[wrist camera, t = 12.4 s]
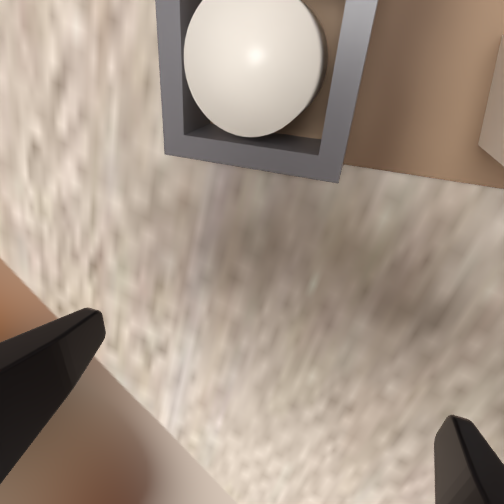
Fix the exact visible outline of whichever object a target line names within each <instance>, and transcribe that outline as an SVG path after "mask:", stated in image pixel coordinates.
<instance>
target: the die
mask: <svg viewBox="0 0 504 504" xmlns="http://www.w3.org/2000/svg"><path fill="white" fill-rule="evenodd" d="M478 145H479V146H480V147H481V148H482V149H484V150H485V151H486V152H487V153H488V154H489V155H491V156H492V157H493V158H494V159H495V160H497V161H498V162H499V163H500V164H501V165H503V166H504V35H502V38H501V43H500V47H499V52H498V56H497V61H496V65H495V70H494V75H493V79H492V84H491V88H490V93H489V97H488V102H487V107H486V111H485V116H484V120H483V125H482V129H481V134H480V139H479V143H478Z"/></svg>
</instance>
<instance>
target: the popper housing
mask: <svg viewBox="0 0 504 504" xmlns="http://www.w3.org/2000/svg"><path fill="white" fill-rule="evenodd" d="M202 1H203V0H155V2H156V19H157V35H158V52H159V68H160V85H161V101H162V118H163V134H164V151H165V154H166V155H172V156H178V157H184V158H190V159H196V160H202V161H208V162H214V163H220V164H226V165H232V166H238V167H244V168H250V169H256V170H262V171H268V172H274V173H280V174H286V175H292V176H298V177H304V178H310V179H316V180H322V181H327V182H333V183H339V179H340V175H341V170H342V166H343V162H344V157H345V153H346V148H347V144H348V139H349V134H350V130H351V125H352V121H353V116H354V111H355V107H356V102H357V97H358V93H359V88H360V84H361V79H362V74H363V70H364V65H365V60H366V56H367V51H368V47H369V42H370V37H371V33H372V28H373V23H374V19H375V14H376V10H377V5H378V0H346V3H345V8H344V14H343V20H342V25H341V31H340V37H339V43H338V48H337V54H336V60H335V65H334V71H333V77H332V82H331V88H330V94H329V99H328V105H327V111H326V116H325V122H324V128H323V133H322V139H315V138H308V137H301V136H294V135H287V134H280V133H271V134H268V135H264V136H260V137H243V136H238V135H234V134H232V133H229V132H227V131H225V130H223V129H221V128H219V127H218V126H217V125H215V124H210V120H209V119H208V118H207V117H206V115H205V114H204V113H203V112H202V111H201V109H200V108H199V106H198V105H197V103H196V102H195V100H194V98H193V96H192V94H191V91H190V89H189V86H188V82H187V79H186V74H185V68H184V45H185V38H186V34H187V30H188V27H189V24H190V21H191V19H192V17H193V15H194V13H195V11H196V9H197V8H198V6H199V5H200V3H201V2H202Z"/></svg>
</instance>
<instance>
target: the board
mask: <svg viewBox="0 0 504 504" xmlns="http://www.w3.org/2000/svg"><path fill="white" fill-rule="evenodd" d="M301 1H302V2H304V3H305V4H306V5H307V6H308V7H309V8H310V9H311V10H312V11H313V12H314V14H315V15H316V16H317V18H318V20H319V22H320V23H321V25H322V28H323V31H324V33H325V37H326V41H327V48H328V63H327V70H326V75H325V78H324V81H323V84H322V87H321V89H320V91H319V93H318V94H317V96H316V97H315V99H314V100H313V101H312V103H311V104H310V105H309V106H308V107H307V108H306V109H305V110H304V111H303V112H301V113H300V114H299V115H298V116H297V117H296V118H294V119H293V120H292V121H291V122H290V123H289V124H287V125H286V126H284V127H283V128H281V129H280V130H278V131H276V132H274V133H280V134H287V135H294V136H301V137H308V138H315V139H322V133H323V128H324V122H325V116H326V111H327V105H328V99H329V94H330V88H331V82H332V77H333V71H334V65H335V60H336V54H337V48H338V43H339V37H340V31H341V25H342V20H343V14H344V8H345V3H346V0H301ZM502 35H504V0H378V5H377V10H376V14H375V19H374V23H373V28H372V33H371V37H370V42H369V47H368V51H367V56H366V60H365V65H364V70H363V74H362V79H361V84H360V88H359V93H358V97H357V102H356V107H355V111H354V116H353V121H352V125H351V130H350V134H349V139H348V144H347V148H346V153H345V157H344V162H343V164H347V165H353V166H360V167H366V168H373V169H379V170H385V171H392V172H398V173H405V174H411V175H418V176H424V177H431V178H437V179H444V180H450V181H457V182H463V183H469V184H476V185H482V186H489V187H495V188H502V189H504V166H503V165H501V164H500V163H499V162H498V161H497V160H495V159H494V158H493V157H492V156H491V155H489V154H488V153H487V152H486V151H485V150H484V149H482V148H481V147H480V146H479V145H478V143H479V139H480V134H481V129H482V125H483V120H484V116H485V111H486V107H487V102H488V97H489V93H490V88H491V84H492V79H493V75H494V70H495V65H496V61H497V56H498V52H499V47H500V43H501V38H502ZM210 124H214V123H213V122H212V121H210Z"/></svg>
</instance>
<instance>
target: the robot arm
mask: <svg viewBox="0 0 504 504" xmlns="http://www.w3.org/2000/svg"><path fill="white" fill-rule="evenodd" d="M105 334H106V331H105V326H104V321H103V316H102V313H101V312H100V311H99V310H95V309H92V308H84V309H81V310H79V311H76V312H74V313H71V314H69V315H66V316H64V317H61V318H59V319H57V320H54V321H52V322H49V323H47V324H44V325H42V326H39V327H37V328H35V329H32V330H30V331H27V332H25V333H22V334H20V335H17V336H15V337H13V338H10V339H8V340H5V341H3V342H0V484H1V483H2V481H3V480H4V479H5V477H6V476H7V475H8V473H9V472H10V471H11V469H12V468H13V467H14V466H15V464H16V463H17V462H18V460H19V459H20V458H21V456H22V455H23V454H24V452H25V451H26V450H27V449H28V447H29V446H30V445H31V443H32V442H33V441H34V439H35V438H36V437H37V435H38V434H39V432H41V430H42V429H43V428H44V426H45V425H46V424H47V422H48V421H49V420H50V418H51V417H52V416H53V414H54V413H55V412H56V411H57V409H58V408H59V407H60V405H61V404H62V403H63V402H64V400H65V399H66V398H67V396H68V395H69V394H70V392H71V391H72V389H73V388H74V387H75V385H76V384H77V382H78V381H79V379H80V377H81V376H82V374H83V373H84V371H85V369H86V368H87V366H88V365H89V363H90V361H91V360H92V358H93V357H94V355H95V353H96V352H97V350H98V349H99V347H100V345H101V344H102V342H103V340H104V338H105ZM434 462H435V504H504V464H503V463H502V462H501V460H500V459H499V458H498V456H497V455H496V454H495V452H494V451H493V449H492V448H491V447H490V445H489V444H488V443H487V441H486V440H485V439H484V437H483V436H482V435H481V433H480V432H479V430H478V429H477V428H476V426H475V425H474V424H473V423H472V422H471V421H470V420H468V419H465V418H462V417H459V416H455V415H450V416H448V417H447V418H446V420H445V421H444V423H443V425H442V426H441V428H440V429H439V431H438V432H437V434H436V436H435V441H434Z"/></svg>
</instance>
